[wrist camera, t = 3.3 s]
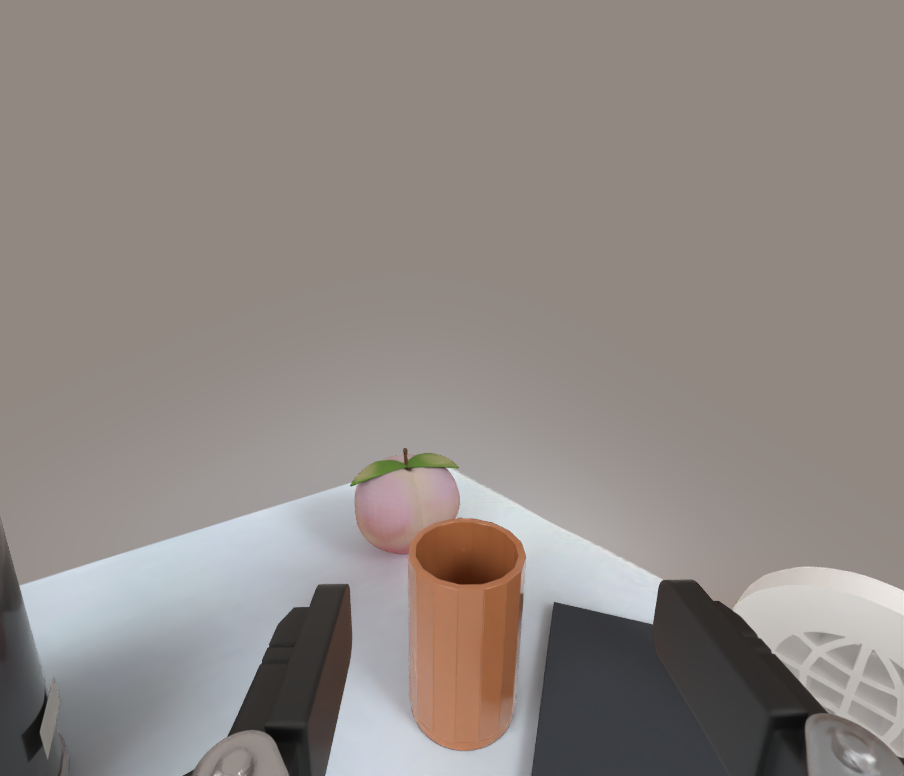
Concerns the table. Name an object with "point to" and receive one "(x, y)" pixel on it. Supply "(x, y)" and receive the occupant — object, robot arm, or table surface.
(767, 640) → the white twin disc part
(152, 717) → the table surface
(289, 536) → the table surface
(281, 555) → the table surface
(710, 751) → the mat
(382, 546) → the decorative fruit
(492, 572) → the brown mug
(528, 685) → the table surface
